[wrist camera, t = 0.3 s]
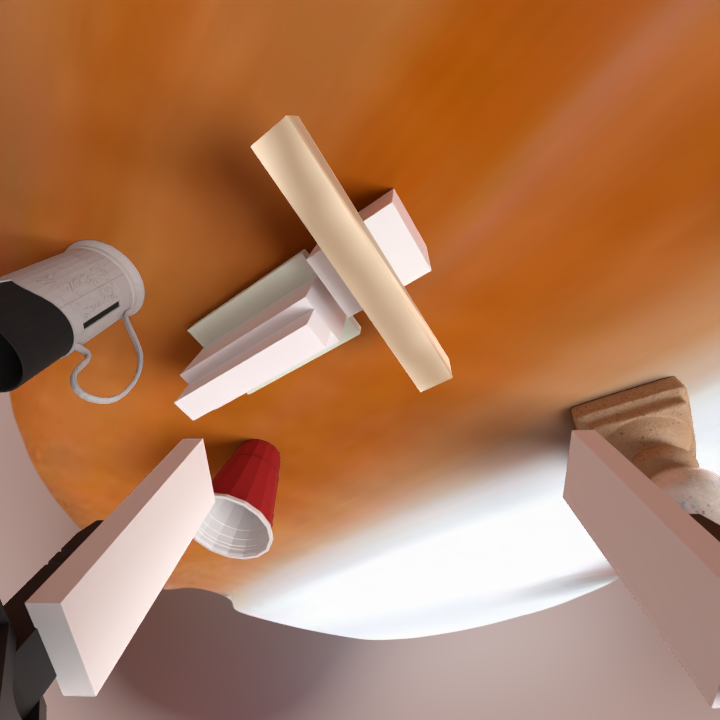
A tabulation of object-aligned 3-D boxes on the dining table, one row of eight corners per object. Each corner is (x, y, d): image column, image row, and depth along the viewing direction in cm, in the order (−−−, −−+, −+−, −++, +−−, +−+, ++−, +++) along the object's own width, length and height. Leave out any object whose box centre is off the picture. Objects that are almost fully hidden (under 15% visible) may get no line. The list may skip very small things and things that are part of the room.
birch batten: (298, 116, 26) (286, 115, 23) (448, 358, 34) (452, 377, 32) (264, 144, 27) (250, 146, 24) (419, 372, 35) (420, 392, 33)
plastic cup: (237, 410, 49) (194, 486, 39) (310, 447, 52) (288, 527, 41) (209, 459, 55) (165, 536, 44) (277, 490, 57) (250, 570, 47)
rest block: (393, 188, 34) (392, 202, 28) (426, 246, 36) (431, 270, 30) (321, 237, 37) (306, 259, 31) (356, 288, 39) (348, 317, 33)
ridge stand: (305, 248, 37) (277, 285, 29) (361, 327, 41) (351, 380, 33) (193, 324, 43) (143, 374, 35) (252, 387, 47) (220, 445, 39)
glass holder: (75, 221, 38) (-88, 271, 25) (203, 307, 42) (117, 388, 29) (53, 285, 42) (-97, 356, 29) (171, 358, 46) (84, 449, 33)
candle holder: (687, 443, 46) (916, 699, 25) (589, 468, 49) (721, 711, 29) (676, 374, 41) (945, 620, 21) (568, 407, 44) (708, 646, 24)
